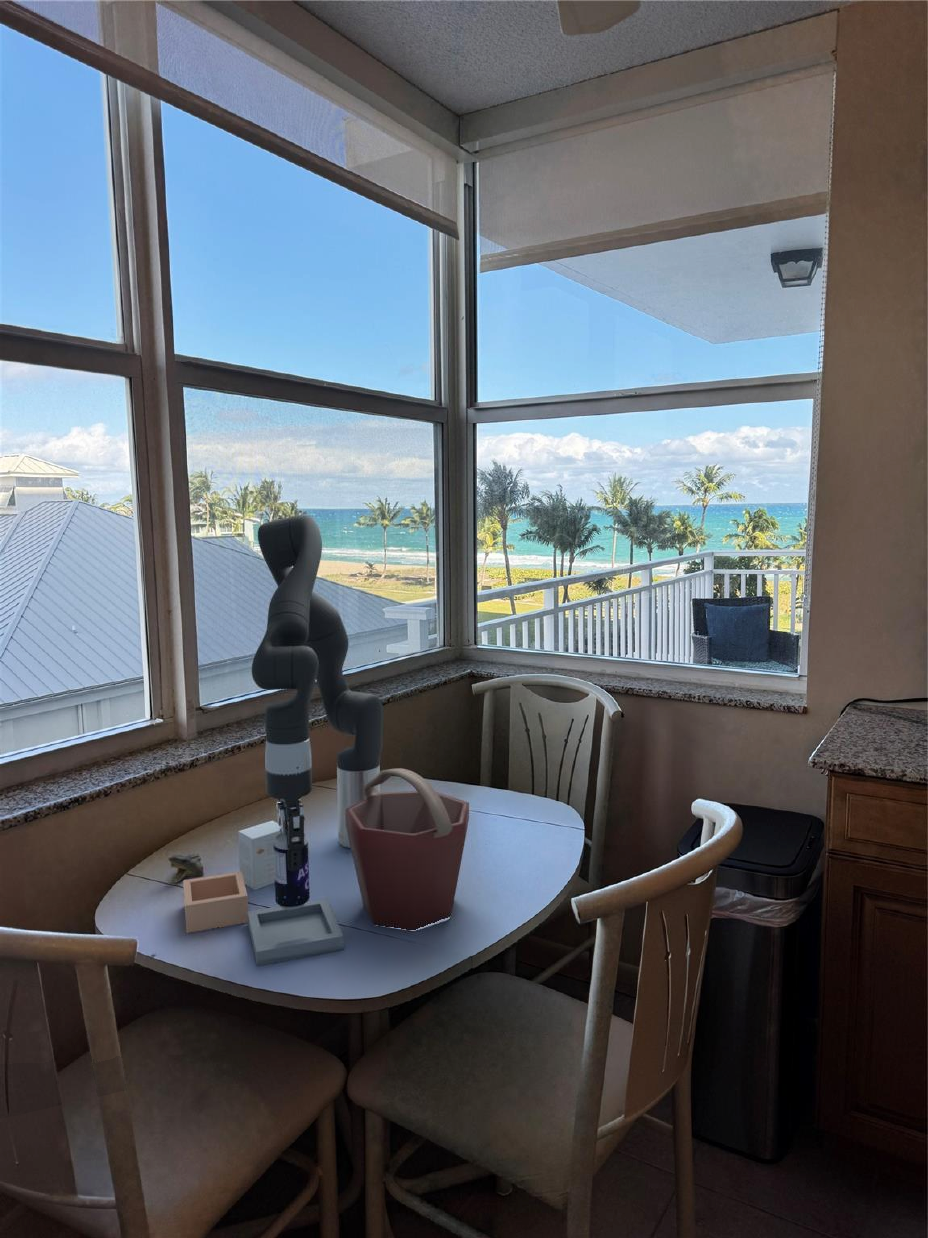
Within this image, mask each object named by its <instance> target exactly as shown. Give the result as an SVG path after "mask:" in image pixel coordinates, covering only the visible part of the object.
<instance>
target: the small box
mask: <svg viewBox="0 0 928 1238" xmlns="http://www.w3.org/2000/svg"><path fill="white" fill-rule="evenodd" d="M280 833H281V832H280V826H279V825H278V822H276V821H275V820H270V821H266V822H263V823H260V824H257V825H253V826H250V827H247V828H245V829H242V830H238V831H237V839H238V840H237V841H238V862H239V863H238V864H239V865H238V866H239V872H241V871H242V875H243V879H244V884H245V886H247V887H248V888H250V889H252V890H254V891H256V890H259V889H263V888H265V887H268V886H270V885H272V884H275V871H274V843H275V841H276V836H277V835H278V834H280Z"/></svg>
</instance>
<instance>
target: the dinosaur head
mask: <svg viewBox="0 0 928 1238" xmlns="http://www.w3.org/2000/svg"><path fill="white" fill-rule="evenodd" d="M201 859H202V858H201V856H200V855H199V854H198V853H193V854H188V855H182V854H181V855H180V854H179V855H178V854H176V855H173V856H169V857H168V861H169V862H170V868H175V869H177V871H176V873H175V874H174V875H173V877H172V878H171V882H172V883H174V884H176V883H179V882H180V881H182V880H184V878H185V877H189V876H191V877H192V876H197V877H203V876H204V875H205V873H204V866H203V864H202V863H201Z"/></svg>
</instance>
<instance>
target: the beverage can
mask: <svg viewBox="0 0 928 1238" xmlns="http://www.w3.org/2000/svg"><path fill="white" fill-rule="evenodd" d="M293 841H298V837H294V838H292V842H293ZM304 844H305V846H304V848H302V849H301V862H302V867H301V869H300V870H294V871H289V870H288V866H287V848H286V836H285V835H283V834H282V833H280V834H278V835H277V836H276V841H275V843H274V871H275V883H274V893H275V895H274V896H275V899H274V900H275V903H276V904H277V905H278V906H279V907H280V906H281V907H282V908H283V909H287V910H294V909H298V908H301V907H303V906H304V905H305V903H306V902H309V900H310V895H311V894H310V869H309V868H310V867H309V865H310V863H309V862H310V860H309V858H310V857H309V841H308V839H307V838H306V833H304Z"/></svg>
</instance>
